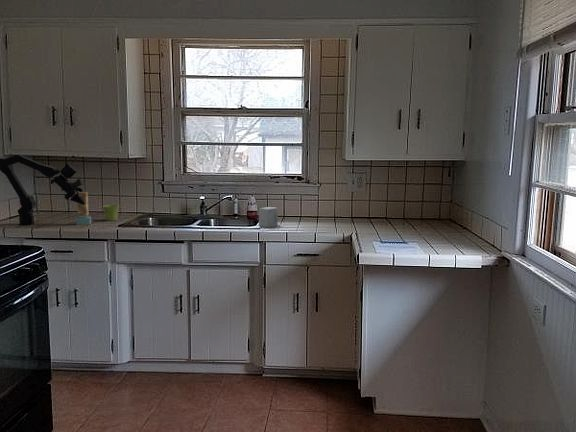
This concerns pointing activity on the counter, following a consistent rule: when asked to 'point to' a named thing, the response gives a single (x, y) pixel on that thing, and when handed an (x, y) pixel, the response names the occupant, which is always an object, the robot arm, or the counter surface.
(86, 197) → the oak pillar
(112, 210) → the plant pot
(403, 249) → the counter surface
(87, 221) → the base block
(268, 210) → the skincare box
